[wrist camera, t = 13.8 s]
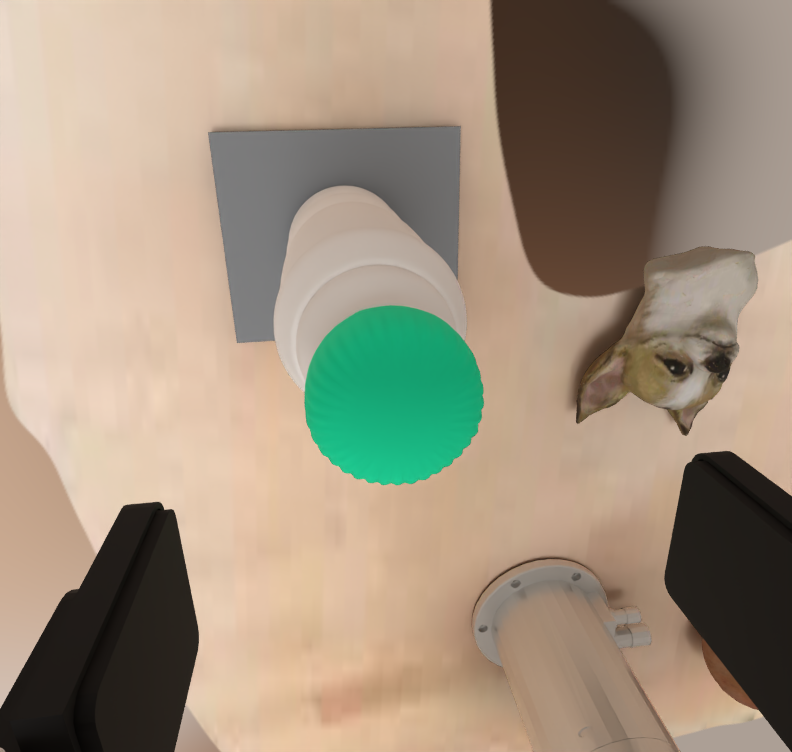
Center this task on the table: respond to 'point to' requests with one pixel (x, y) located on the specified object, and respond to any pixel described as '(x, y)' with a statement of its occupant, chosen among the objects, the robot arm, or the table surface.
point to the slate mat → (311, 173)
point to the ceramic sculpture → (676, 335)
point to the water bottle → (375, 340)
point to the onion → (724, 677)
